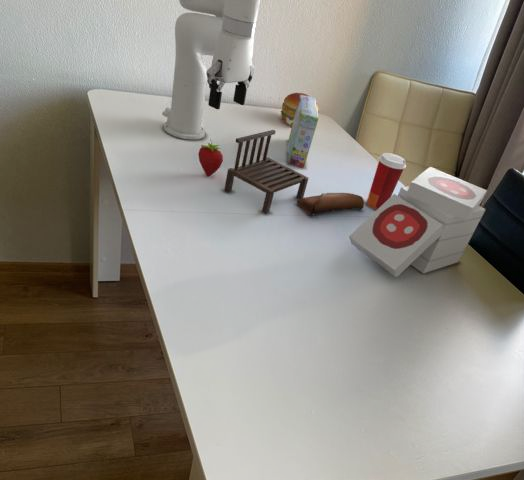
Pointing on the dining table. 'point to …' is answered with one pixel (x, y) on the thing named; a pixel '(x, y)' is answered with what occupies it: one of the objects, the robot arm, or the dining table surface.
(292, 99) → the burger
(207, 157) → the strawberry
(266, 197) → the miniature wooden chair
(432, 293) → the dining table surface
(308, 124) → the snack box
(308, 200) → the sunglasses case
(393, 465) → the dining table surface
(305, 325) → the dining table surface
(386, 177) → the paper cup
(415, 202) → the pizza boxes
